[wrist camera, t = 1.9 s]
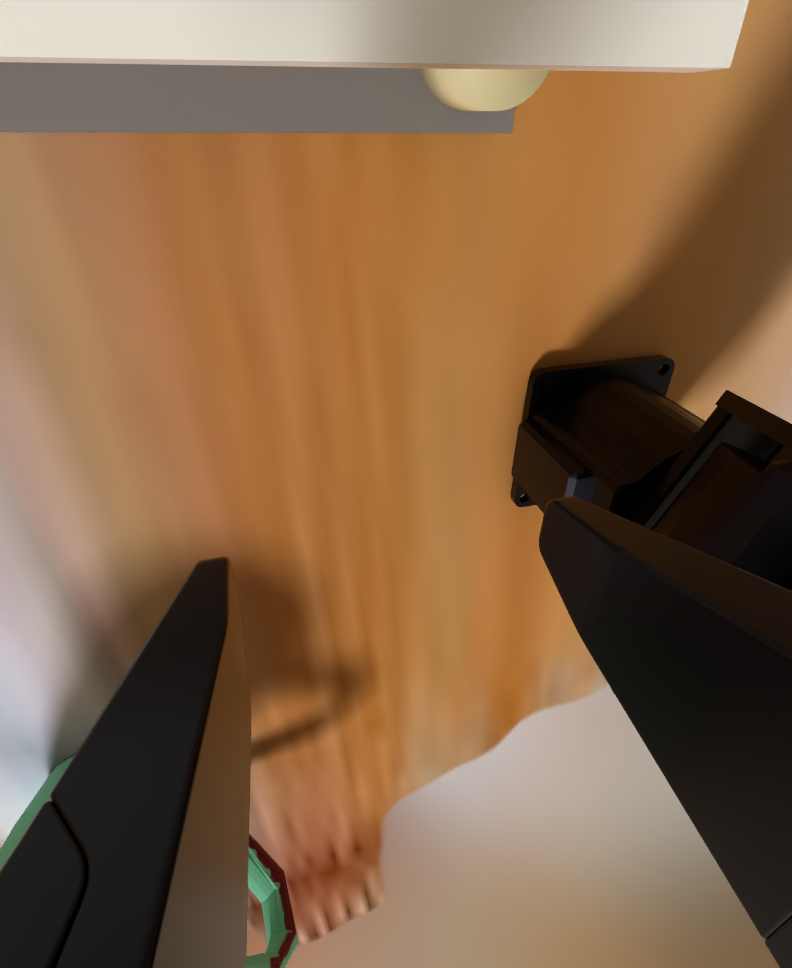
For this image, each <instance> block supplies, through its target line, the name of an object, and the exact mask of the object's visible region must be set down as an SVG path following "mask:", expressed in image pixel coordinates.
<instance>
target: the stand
mask: <svg viewBox="0 0 792 968" xmlns="http://www.w3.org/2000/svg"><path fill="white" fill-rule="evenodd" d="M549 71H550V70H496V69H429V68H362V67H296V66H229V65H162V64H95V63H28V62H0V132H269V133H512V131H513V121H514V112H515V106H518V105H519V104H521V103H523V102H524V101H525V100H527V99H528V98H529V97H530V96H531V95H532V94H533V93H534V92H535V91H536V90H537V89H538V88H539V87H540V85H541V84H542V83H543V81H544V80H545V78H546V76H547V75H548V73H549Z"/></svg>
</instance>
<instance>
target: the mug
mask: <svg viewBox="0 0 792 968" xmlns="http://www.w3.org/2000/svg"><path fill="white" fill-rule="evenodd" d="M73 757H74V756H72V757H70V758H68V759H67V760H65V761H63V762H62V763H60V764H59V765H57V766H56V768H55V769H54V770H53V772H52V773H51V774H50V775H49V777H48V778H47V780H46V781H45V783H44V784H43V785H42V787H41V788H40V790H39V791H38V793H37V794H36V796H35V797H34V798H33V800H32V801H31V803H30V804H29V806H28V807H27V808H26V810H25V811H24V813H23V814H22V816H21V817H20V819H19V820H18V821H17V823H16V824H15V826H14V828H13V829H12V831H11V833H10V834H9V836H8V837H7V839H6V841H5V842H4V844H3V846H2V847H1V849H0V870H1V869H2V867H3V866H4V864H5V863H6V861H7V860H8V858H9V857H10V855H11V854H12V852H13V851H14V849H15V848H16V846H17V845H18V843H19V842H20V840H21V839H22V837H23V836H24V834H25V833H26V831H27V829H28V828H29V826H30V825H31V823H32V822H33V820H34V818H35V817H36V815H37V814H38V812H39V810H40V809H41V807H42V806H43V804H44V803H45V802H47V801H52V800H51V798H50V794H51V792H52V791H53V789H54V787H55V786H56V784H57V783H58V781H59V780H60V778H61V776H62V775H63V773H64V772H65V770H66V769H67V767H68V765H69V764H70V762H71V761H72V759H73ZM52 802H53V801H52ZM248 887H249V888H250V889H251V891H252V892H253V893H254V894H255V896H256V897H257V898H258V899H259V901H260V902H261V903H262V909H263V916H264V922H265V929H266V936H267V942H268V947H267V950H266V953H262V954H257V955H252V956H247V957H246V968H285V966H286V965H287V963H288V961H289V960H290V957H291V956H292V954H293V952H294V950H295V948H296V946H297V944H298V936H297V932H296V927H295V922H294V918H293V913H292V908H291V903H290V899H289V894H288V889H287V884H286V879H285V874H284V871H283V870H282V868H281V867H280V866H279V865H278V864H277V863H276V862H275V861H274V860H273V859H272V858H271V856H270V855H269V854H268V853H267V852H266V851H265V850H264V849H263V848H262V847H261V845H260V844H259V843H258V842H257V841H256V840H255V839H254V838H253V837H252V836H251V835H250V833H249V857H248Z"/></svg>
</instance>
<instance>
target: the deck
mask: <svg viewBox="0 0 792 968" xmlns="http://www.w3.org/2000/svg"><path fill="white" fill-rule="evenodd" d="M748 2H749V0H0V62H28V63H95V64H162V65H229V66H296V67H362V68H429V69H496V70H563V71H630V72H702V71H710V70H718V69H726V68H730V66H731V63H732V59H733V55H734V52H735V48H736V45H737V41H738V38H739V34H740V31H741V27H742V24H743V20H744V17H745V13H746V9H747V6H748Z"/></svg>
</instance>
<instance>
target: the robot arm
mask: <svg viewBox="0 0 792 968" xmlns="http://www.w3.org/2000/svg"><path fill="white" fill-rule="evenodd" d="M662 365H663V366H662ZM661 366H662V368H661V369H660V367H661ZM659 369H660V370H659ZM658 370H659V371H658ZM673 370H674V361H673V360H672V359H670V358H668V357H666V356H664V355H656V356H647V357H638V358H629V359H620V360H611V361H601V362H592V363H583V364H574V365H565V366H556V367H547V368H540V369H537V370H536V371H534V372H533V373H532V374H531V376H530V378H529V381H528V386H527V393H526V399H525V405H524V412H523V418H522V422H521V423H520V425H519V428H518V434H517V441H516V447H515V454H514V460H513V467H512V476H513V482H512V489H511V499H512V501H513V502H514V503H515V504H516V506H518V507H526V506H532V505H537V506H538V507H539V508H540V510H541V511H542V512H543V513H544V517H543V522H542V527H541V532H540V537H539V548H540V552H541V555H542V557H543V559H544V561H545V564H546V566H547V568H548V570H549V572H550V574H551V576H552V579H553V581H554V583H555V585H556V587H557V589H558V591H559V594H560V596H561V598H562V600H563V602H564V604H565V606H566V608H567V611H568V613H569V615H570V617H571V619H572V621H573V623H574V625H575V627H576V629H577V631H578V633H579V635H580V637H581V639H582V640H583V642H584V644H585V645H586V647H587V649H588V651H589V652H590V654H591V656H592V657H593V659H594V660H595V662H596V664H597V665H598V667H599V669H600V670H601V672H602V674H603V675H604V677H605V679H606V680H607V682H608V684H609V685H610V687H611V689H612V691H613V693H614V694H615V695H616V697H617V698H618V700H619V702H620V703H621V705H622V707H623V708H624V710H625V711H626V713H627V715H628V717H629V718H630V720H631V721H632V723H633V725H634V726H635V728H636V730H637V731H638V733H639V735H640V736H641V738H642V740H643V741H644V743H645V745H646V746H647V748H648V750H649V751H650V753H651V755H652V756H653V758H654V760H655V761H656V763H657V765H658V766H659V768H660V769H661V771H662V773H663V774H664V776H665V778H666V779H667V781H668V783H669V784H670V786H671V788H672V789H673V791H674V793H675V794H676V796H677V797H678V799H679V801H680V803H681V804H682V806H683V807H684V809H685V811H686V813H687V814H688V816H689V817H690V819H691V821H692V822H693V824H694V826H695V827H696V829H697V831H698V832H699V834H700V836H701V837H702V839H703V840H704V842H705V844H706V845H707V847H708V849H709V851H710V852H711V854H712V855H713V857H714V859H715V860H716V862H717V864H718V865H719V867H720V869H721V870H722V872H723V873H724V875H725V877H726V879H727V880H728V882H729V884H730V885H731V887H732V889H733V890H734V892H735V893H736V895H737V897H738V898H739V900H740V902H741V903H742V905H743V907H744V908H745V910H746V911H747V913H748V915H749V917H750V918H751V920H752V922H753V923H754V925H755V926H756V928H757V930H758V931H759V933H760V935H761V936H762V937H763V938H764V939H765V944H766V946H767V947H768V948H769V950H770V952H771V954H772V955H773V957H774V959H775V960H776V962H777V964H778V965H779V967H780V968H792V424H791V423H789V422H787V421H785V420H783V419H781V418H779V417H777V416H775V415H774V414H772V413H770V412H768V411H766V410H764V409H762V408H760V407H758V406H757V405H755V404H753V403H751V402H749V401H747V400H745V399H743V398H741V397H740V396H738V395H736V394H734V393H732V392H730V391H728V390H726V391H725V392H724V394H723V395H722V396H721V397H720V399H719V400H718V401H717V403H716V405H717V408H716V409H715V410H714V411H713V413H712V414H711V415H710V417H709V418H708V419H707V420H706V421H704V420H703V419H701V418H699V417H698V416H696V415H694V414H693V413H691V412H690V411H688V410H686V409H685V408H683V407H682V406H680V405H678V404H677V403H675V402H674V401H672V400H670V399H669V398H667V397H665V396H666V392H667V389H668V386H669V383H670V380H671V376H672V373H673ZM544 378H545V382H544V383H543V384H542V385H540V386H539V383H540V381H541V380H542V379H544ZM523 494H525V495H524V496H523V497H520V496H522V495H523ZM250 767H251V703H250V691H249V682H248V672H247V663H246V653H245V644H244V634H243V625H242V615H241V607H240V601H239V596H238V592H237V588H236V583H235V579H234V574H233V570H232V565H231V562H230V560H229V558H227V557H219V558H213V559H208V560H202V561H199V562H198V563H197V564H196V565H195V567H194V568H193V570H192V571H191V573H190V575H189V576H188V578H187V579H186V581H185V582H184V584H183V586H182V587H181V589H180V590H179V592H178V593H177V595H176V597H175V598H174V600H173V601H172V603H171V605H170V606H169V608H168V609H167V611H166V612H165V614H164V616H163V617H162V619H161V620H160V622H159V623H158V625H157V627H156V628H155V630H154V631H153V633H152V634H151V636H150V638H149V639H148V641H147V642H146V644H145V646H144V647H143V649H142V650H141V652H140V653H139V655H138V657H137V658H136V660H135V661H134V663H133V664H132V666H131V668H130V669H129V671H128V672H127V674H126V675H125V677H124V679H123V680H122V682H121V683H120V685H119V687H118V688H117V690H116V691H115V693H114V694H113V696H112V698H111V699H110V701H109V702H108V704H107V705H106V707H105V709H104V710H103V712H102V713H101V715H100V716H99V718H98V720H97V721H96V723H95V724H94V726H93V728H92V729H91V731H90V732H89V734H88V735H87V737H86V739H85V740H84V742H83V743H82V745H81V746H80V748H79V750H78V751H77V753H76V754H75V756H74V757H73V759H72V761H71V762H70V764H69V765H68V767H67V769H66V770H65V772H64V773H63V775H62V776H61V778H60V780H59V781H58V783H57V784H56V786H55V787H54V789H53V791H52V792H51V794H50V798H51V800H52V801H53V802H52V801H47V802H45V803H44V804H43V806H42V807H41V809H40V810H39V812H38V814H37V815H36V817H35V818H34V820H33V822H32V823H31V825H30V826H29V828H28V829H27V831H26V833H25V834H24V836H23V837H22V839H21V840H20V842H19V843H18V845H17V846H16V848H15V849H14V851H13V852H12V854H11V855H10V857H9V858H8V860H7V861H6V863H5V864H4V866H3V867H2V869H1V870H0V968H246V947H247V946H246V945H247V902H248V857H249V812H250Z"/></svg>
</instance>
